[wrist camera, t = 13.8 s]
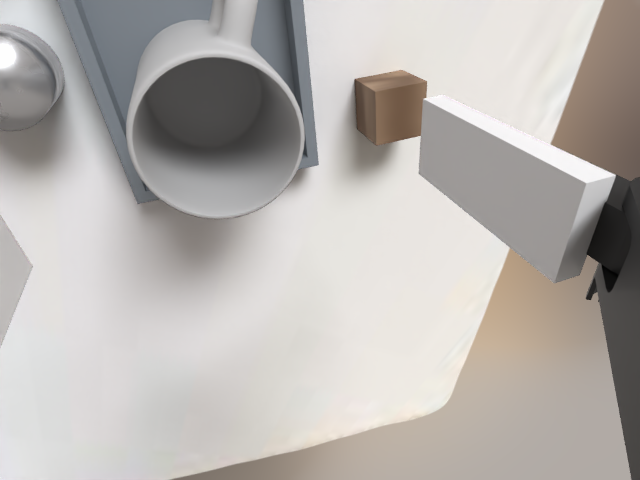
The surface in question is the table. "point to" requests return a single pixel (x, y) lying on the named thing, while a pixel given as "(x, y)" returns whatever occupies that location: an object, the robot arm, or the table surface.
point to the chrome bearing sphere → (26, 78)
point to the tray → (151, 18)
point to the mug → (213, 117)
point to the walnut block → (390, 106)
